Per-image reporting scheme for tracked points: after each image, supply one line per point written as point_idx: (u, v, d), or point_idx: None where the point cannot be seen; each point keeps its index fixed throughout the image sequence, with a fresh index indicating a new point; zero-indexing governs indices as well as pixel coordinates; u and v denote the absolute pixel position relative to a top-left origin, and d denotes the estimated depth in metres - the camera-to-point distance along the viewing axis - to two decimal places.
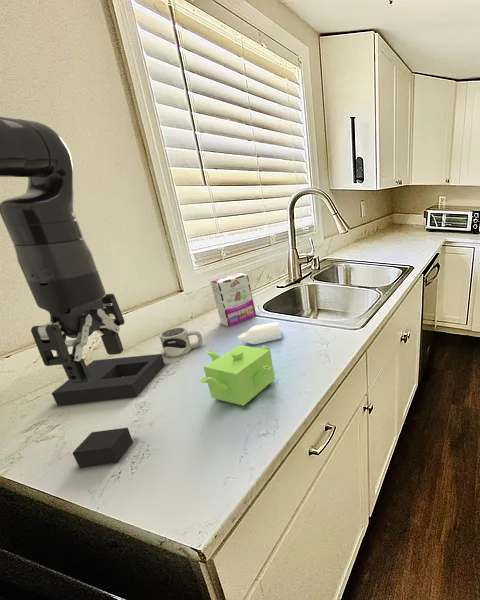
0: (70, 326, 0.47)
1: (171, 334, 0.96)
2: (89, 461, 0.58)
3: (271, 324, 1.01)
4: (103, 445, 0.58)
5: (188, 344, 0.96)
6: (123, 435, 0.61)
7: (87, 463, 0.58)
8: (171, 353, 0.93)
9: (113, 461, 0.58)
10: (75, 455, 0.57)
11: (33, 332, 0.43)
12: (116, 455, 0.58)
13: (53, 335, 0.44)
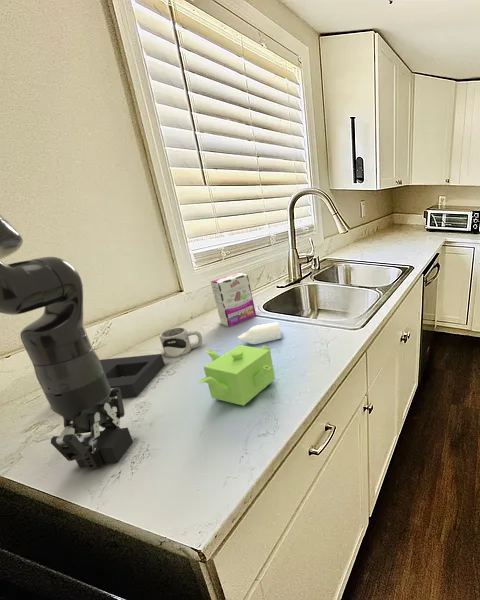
0: (80, 426, 0.54)
1: (171, 334, 0.96)
2: None
3: (271, 324, 1.01)
4: (103, 445, 0.58)
5: (188, 344, 0.96)
6: (123, 435, 0.61)
7: None
8: (171, 353, 0.93)
9: (113, 461, 0.58)
10: None
11: (53, 443, 0.51)
12: (116, 455, 0.58)
13: (70, 444, 0.52)
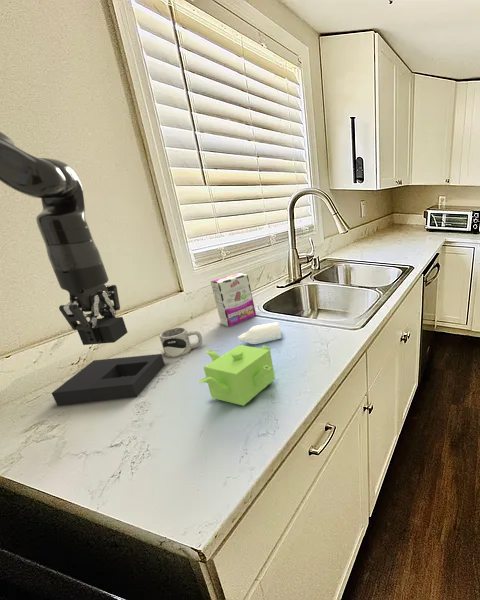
0: (83, 302, 0.66)
1: (171, 334, 0.96)
2: None
3: (271, 324, 1.01)
4: (102, 325, 0.70)
5: (188, 344, 0.96)
6: (118, 321, 0.73)
7: None
8: (171, 353, 0.93)
9: (110, 339, 0.71)
10: (79, 331, 0.69)
11: (61, 310, 0.63)
12: (112, 334, 0.71)
13: (75, 312, 0.64)
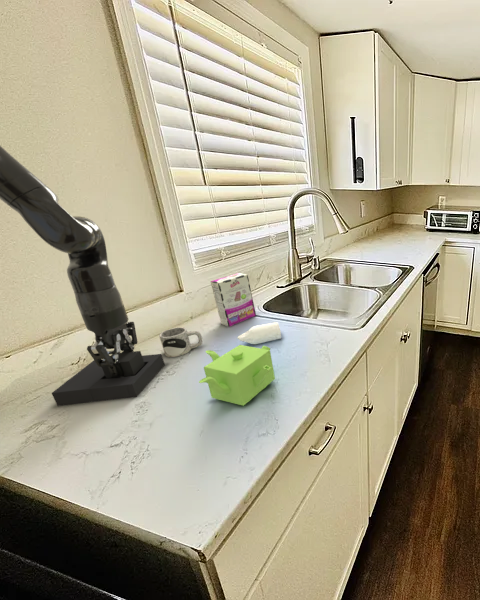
0: (107, 341, 0.74)
1: (171, 334, 0.96)
2: None
3: (271, 324, 1.01)
4: (123, 360, 0.78)
5: (188, 344, 0.96)
6: (137, 355, 0.81)
7: None
8: (171, 353, 0.93)
9: (130, 372, 0.79)
10: (102, 366, 0.77)
11: (88, 350, 0.71)
12: (132, 368, 0.79)
13: (101, 351, 0.72)
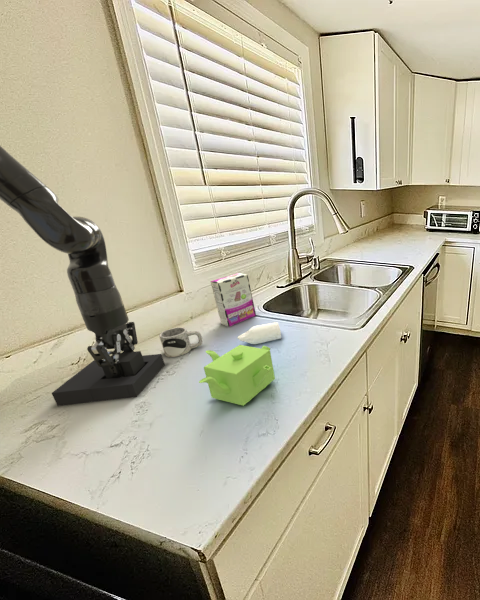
0: (107, 341, 0.74)
1: (171, 334, 0.96)
2: None
3: (271, 324, 1.01)
4: (123, 360, 0.78)
5: (188, 344, 0.96)
6: (137, 355, 0.81)
7: None
8: (171, 353, 0.93)
9: (130, 372, 0.79)
10: (103, 366, 0.77)
11: (89, 350, 0.71)
12: (132, 368, 0.79)
13: (101, 351, 0.72)
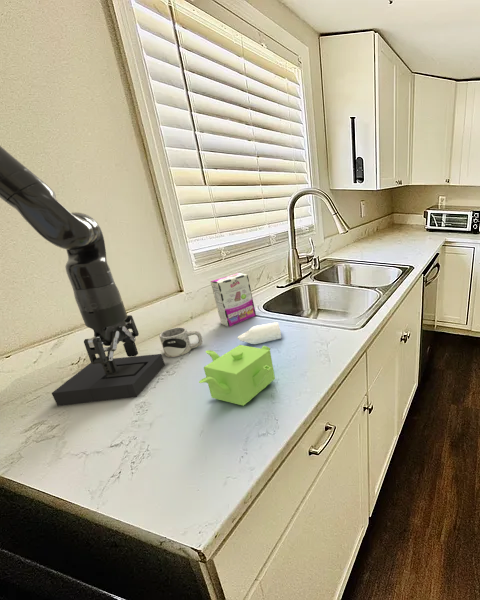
0: (106, 338, 0.73)
1: (171, 334, 0.96)
2: None
3: (271, 324, 1.01)
4: (127, 373, 0.79)
5: (188, 344, 0.96)
6: (141, 368, 0.82)
7: None
8: (171, 353, 0.93)
9: None
10: None
11: (85, 343, 0.70)
12: None
13: (97, 344, 0.71)
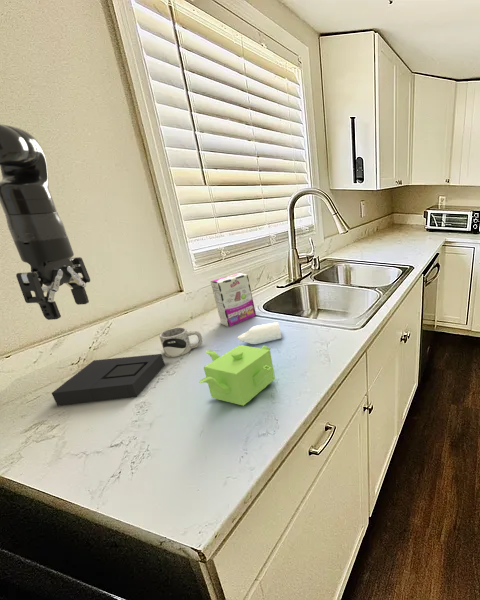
0: (45, 275, 0.64)
1: (171, 334, 0.96)
2: None
3: (271, 324, 1.01)
4: (127, 373, 0.79)
5: (188, 344, 0.96)
6: (141, 368, 0.82)
7: None
8: (171, 353, 0.93)
9: None
10: None
11: (17, 277, 0.61)
12: None
13: (32, 280, 0.61)
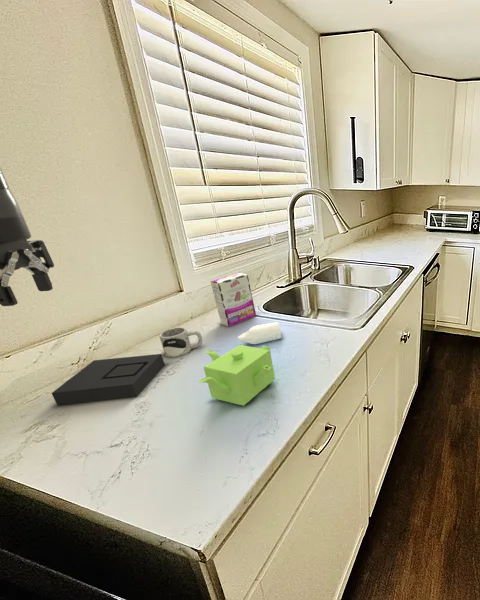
0: None
1: (171, 334, 0.96)
2: None
3: (271, 324, 1.01)
4: (127, 373, 0.79)
5: (188, 344, 0.96)
6: (141, 368, 0.82)
7: None
8: (171, 353, 0.93)
9: None
10: None
11: None
12: None
13: None
